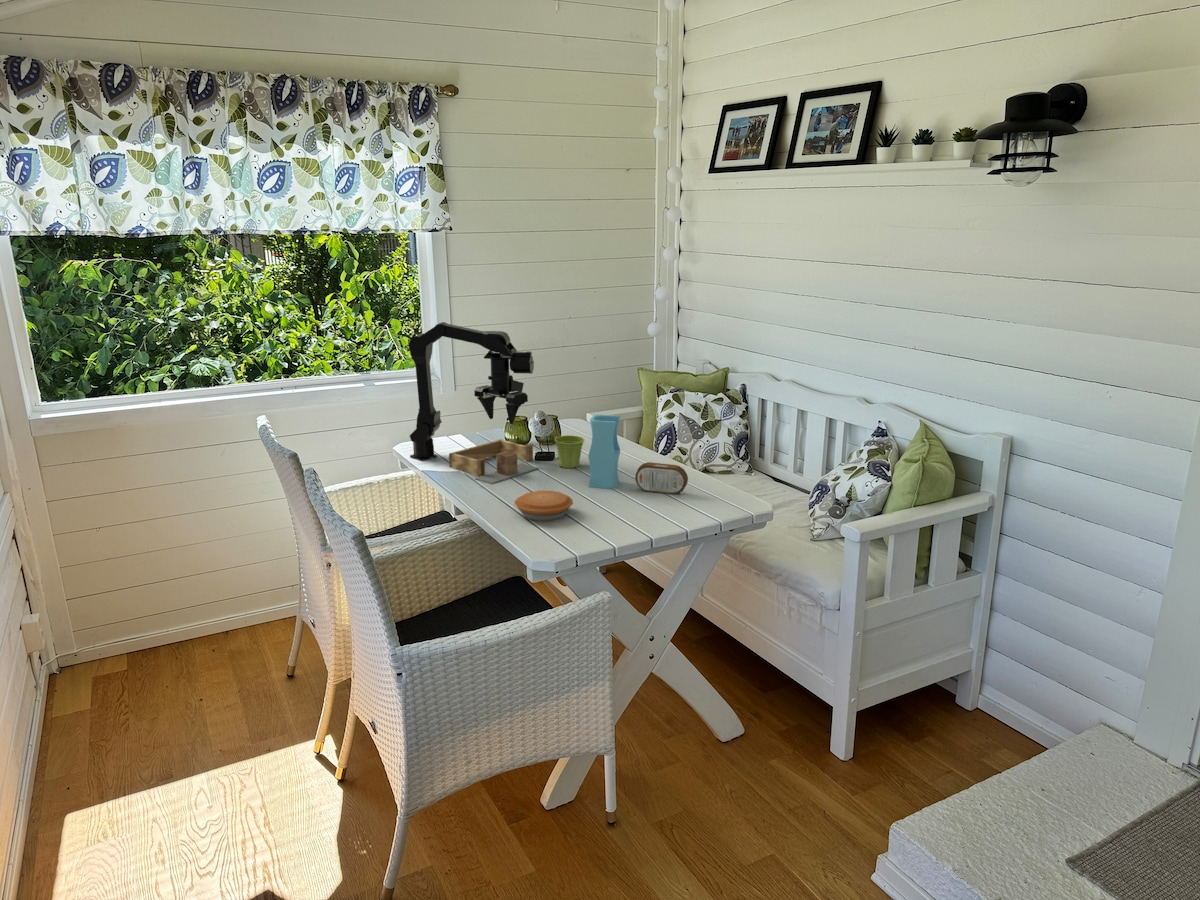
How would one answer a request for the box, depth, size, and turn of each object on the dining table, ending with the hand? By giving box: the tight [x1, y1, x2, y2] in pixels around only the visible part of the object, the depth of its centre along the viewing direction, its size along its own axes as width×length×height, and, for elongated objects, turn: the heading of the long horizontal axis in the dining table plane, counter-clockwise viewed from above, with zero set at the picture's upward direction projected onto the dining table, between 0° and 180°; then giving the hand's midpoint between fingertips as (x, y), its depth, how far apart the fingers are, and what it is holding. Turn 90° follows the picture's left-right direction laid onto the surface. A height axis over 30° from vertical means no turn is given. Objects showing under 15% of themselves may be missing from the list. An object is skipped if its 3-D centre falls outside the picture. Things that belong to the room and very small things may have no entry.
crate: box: [448, 439, 534, 477], centre depth 277 cm, size 14×23×5 cm, turn 140°
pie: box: [514, 490, 574, 522], centre depth 234 cm, size 15×16×5 cm
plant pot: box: [554, 434, 585, 469], centre depth 275 cm, size 9×9×9 cm
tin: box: [634, 461, 689, 495], centre depth 251 cm, size 15×3×8 cm, turn 74°
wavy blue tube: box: [587, 414, 621, 490], centre depth 256 cm, size 8×8×20 cm
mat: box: [474, 462, 540, 485], centre depth 268 cm, size 7×20×1 cm, turn 140°
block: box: [496, 451, 518, 476], centre depth 267 cm, size 4×4×6 cm
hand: (501, 421), depth 278 cm, fingers open, 9 cm apart
